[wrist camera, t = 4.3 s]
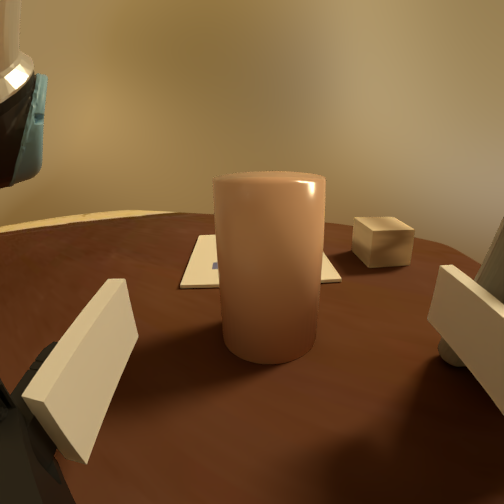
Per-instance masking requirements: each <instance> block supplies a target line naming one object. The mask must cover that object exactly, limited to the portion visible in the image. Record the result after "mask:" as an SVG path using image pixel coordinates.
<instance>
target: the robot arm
mask: <svg viewBox="0 0 504 504" xmlns="http://www.w3.org/2000/svg"><path fill="white" fill-rule="evenodd" d="M21 1H22V0H0V188H4V187H10V186H13V185H14V184H16V183H19V182H22V181H25V180H28V179H31V178H33V177H34V176H35V175H37V174H38V172H39V171H40V169H41V166H42V150H43V124H44V123H43V122H44V110H45V101H46V90H47V81H48V78H47V76H46V75H41V74H36V75H34V63H33V60H32V58H31V57H30V56H28V55H27V54H25V53H23V52H21V51H20V50H19V39H20V15H21ZM427 320H428V321H429V322H430V323H431V325H432V326H433V327H434V328H435V329H436V330H437V331H438V333H439V334H440V335H441V336H442V337H443V338H444V340H445V341H446V342H447V343H448V344H449V346H450V347H451V348H452V349H453V350H454V352H455V353H456V354H457V355H458V356H459V358H460V359H461V360H462V361H463V363H464V364H465V365H466V366H467V368H468V369H469V370H470V371H471V373H472V374H473V375H474V376H475V378H476V379H477V380H478V382H479V383H480V384H481V385H482V387H483V388H484V389H485V391H486V392H487V393H488V395H489V396H490V397H491V399H492V400H493V401H494V403H495V404H496V406H497V407H498V408H499V410H500V411H501V412H502V414H503V415H504V304H502V303H501V302H500V301H499V300H497V299H496V298H495V297H494V296H493V295H491V294H490V293H489V292H488V291H486V290H485V289H484V288H482V287H481V286H480V285H479V284H477V283H476V282H475V281H473V280H472V279H471V278H469V277H468V276H467V275H465V274H464V273H463V272H461V271H460V270H459V269H457V268H456V267H455V266H453V265H443V266H440V267H439V272H438V277H437V281H436V286H435V290H434V294H433V298H432V302H431V306H430V310H429V314H428V317H427ZM137 339H138V333H137V329H136V325H135V321H134V317H133V312H132V308H131V304H130V299H129V294H128V290H127V285H126V280H125V279H108V280H107V281H106V282H105V283H104V285H103V286H102V287H101V288H100V289H99V291H98V292H97V293H96V294H95V296H94V297H93V298H92V299H91V301H90V302H89V303H88V304H87V306H86V307H85V308H84V309H83V311H82V312H81V313H80V314H79V316H78V317H77V318H76V320H75V321H74V322H73V323H72V325H71V326H70V327H69V329H68V330H67V331H66V333H65V334H64V335H63V337H62V338H61V339H60V341H59V342H53V343H51V344H50V345H49V346H47V347H46V348H44V349H43V350H42V351H41V353H40V354H39V355H38V357H37V358H36V359H35V362H33V364H32V365H31V366H30V370H27V372H26V373H25V375H24V376H23V377H22V379H21V380H20V382H19V383H18V385H17V386H16V388H15V389H14V391H13V392H12V393H11V395H9V393H8V391H7V390H6V388H5V386H4V384H3V383H2V381H1V379H0V504H76V503H75V501H74V499H73V497H72V495H71V493H70V490H69V488H68V486H67V484H66V481H65V479H64V477H63V474H62V472H61V469H60V467H59V464H58V462H57V460H56V459H55V457H54V454H55V451H56V449H58V450H59V451H60V452H61V454H62V455H63V456H64V457H65V459H68V460H72V461H76V462H79V463H83V464H87V462H88V460H89V457H90V454H91V451H92V448H93V446H94V443H95V440H96V438H97V435H98V432H99V430H100V427H101V424H102V422H103V419H104V417H105V414H106V412H107V409H108V407H109V404H110V402H111V399H112V397H113V394H114V392H115V389H116V387H117V385H118V382H119V380H120V377H121V375H122V373H123V370H124V368H125V366H126V363H127V361H128V359H129V357H130V354H131V352H132V350H133V348H134V345H135V343H136V341H137Z"/></svg>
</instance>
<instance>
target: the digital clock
mask: <svg viewBox="0 0 504 504" xmlns="http://www.w3.org/2000/svg"><path fill="white" fill-rule="evenodd" d="M474 281H475V282H476V283H477V284H479V285H480V286H481V287H482V288H484V289H485V290H486V291H488V292H489V293H490V294H491V295H493V296H494V297H495V298H496V299H497V300H499V301H500V302H501V303H502V304H504V217H503V219H502V221H501V224H500V226H499V228H498V230H497V233H496V235H495V237H494V239H493V242H492V244H491V246H490V248H489V251H488V253H487V255H486V257H485V259H484V261H483V264H482V265H481V267H480V269H479V271H478V273H477V275H476V277H475V279H474ZM438 351H439V354H440V356H441V357H442V359H443V360H444V361H446V362H447V363H449V364H451V365H453V366H457V367H461V366H466V365H465V364H464V363H463V361H462V360H461V359H460V358H459V356H458V355H457V354H456V353H455V352H454V350H453V349H452V348H451V347H450V346H449V344H448V343H447V342H446V341H445V340H444V338H443V337H442V338H441V340H440V343H439V345H438Z"/></svg>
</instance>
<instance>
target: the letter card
mask: <svg viewBox="0 0 504 504" xmlns="http://www.w3.org/2000/svg"><path fill="white" fill-rule="evenodd" d="M341 280H342V278H341V277H340V276H339V274H338V273H337V271H336V270H335V268H334V267H333V265H332V264H331V262H330V261H329V260H328V258H327V257H326V255H325V254H324V252H323V257H322V271H321V283H328V282H341ZM180 287H181V288H213V287H219V277H218V263H217V249H216V235H199V238H198V240H197V243H196V245H195V248H194V250H193V253H192V255H191V258H190V261H189V263H188V266H187V268H186V271H185V274H184V276H183V279H182V282H181V284H180Z"/></svg>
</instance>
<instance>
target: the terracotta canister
mask: <svg viewBox="0 0 504 504" xmlns="http://www.w3.org/2000/svg"><path fill="white" fill-rule="evenodd" d="M325 190H326V178H325V177H323V176H320V175H316V174H309V173H301V172H285V171H282V172H281V171H260V172H259V171H258V172H242V173H232V174H226V175H221V176H218V177H214V178H213V198H214V216H215V233H216V249H217V263H218V277H219V291H220V303H221V315H222V327H223V338H224V343H225V345H226V347H227V348H228V349H229V350H230V351H231V352H232V353H233V354H234V355H236V356H237V357H239V358H241V359H244V360H246V361H249V362H253V363H259V364H281V363H286V362H289V361H293V360H295V359H298V358H300V357H301V356H303V355H305V354H306V353H307V352H308V351H309V350H310V349H311V348H312V346H313V345H314V342H315V338H316V329H317V319H318V308H319V297H320V285H321V271H322V257H323V239H324V219H325Z"/></svg>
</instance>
